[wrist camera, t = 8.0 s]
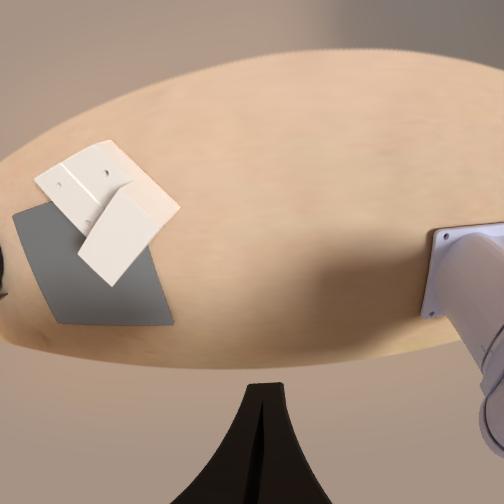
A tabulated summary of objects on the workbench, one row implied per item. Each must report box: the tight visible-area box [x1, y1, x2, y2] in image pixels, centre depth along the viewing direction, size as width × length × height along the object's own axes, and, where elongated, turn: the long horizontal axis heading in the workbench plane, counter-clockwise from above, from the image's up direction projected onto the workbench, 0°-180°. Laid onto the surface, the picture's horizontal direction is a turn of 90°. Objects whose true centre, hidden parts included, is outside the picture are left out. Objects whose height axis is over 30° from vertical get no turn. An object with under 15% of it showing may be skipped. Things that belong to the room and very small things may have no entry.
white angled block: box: [33, 140, 181, 287], centre depth 17 cm, size 4×10×9 cm
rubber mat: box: [12, 201, 174, 326], centre depth 21 cm, size 14×12×1 cm
